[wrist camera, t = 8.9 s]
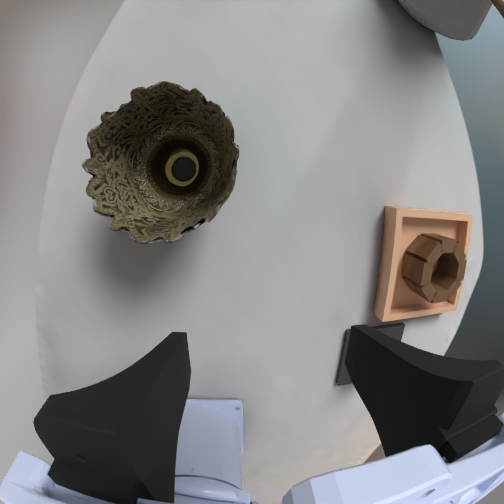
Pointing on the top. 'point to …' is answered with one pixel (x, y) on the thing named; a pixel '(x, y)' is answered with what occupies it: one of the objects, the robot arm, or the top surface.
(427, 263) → the ring
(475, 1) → the coffee pot
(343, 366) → the stand
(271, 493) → the top surface
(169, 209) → the cup
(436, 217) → the dish
